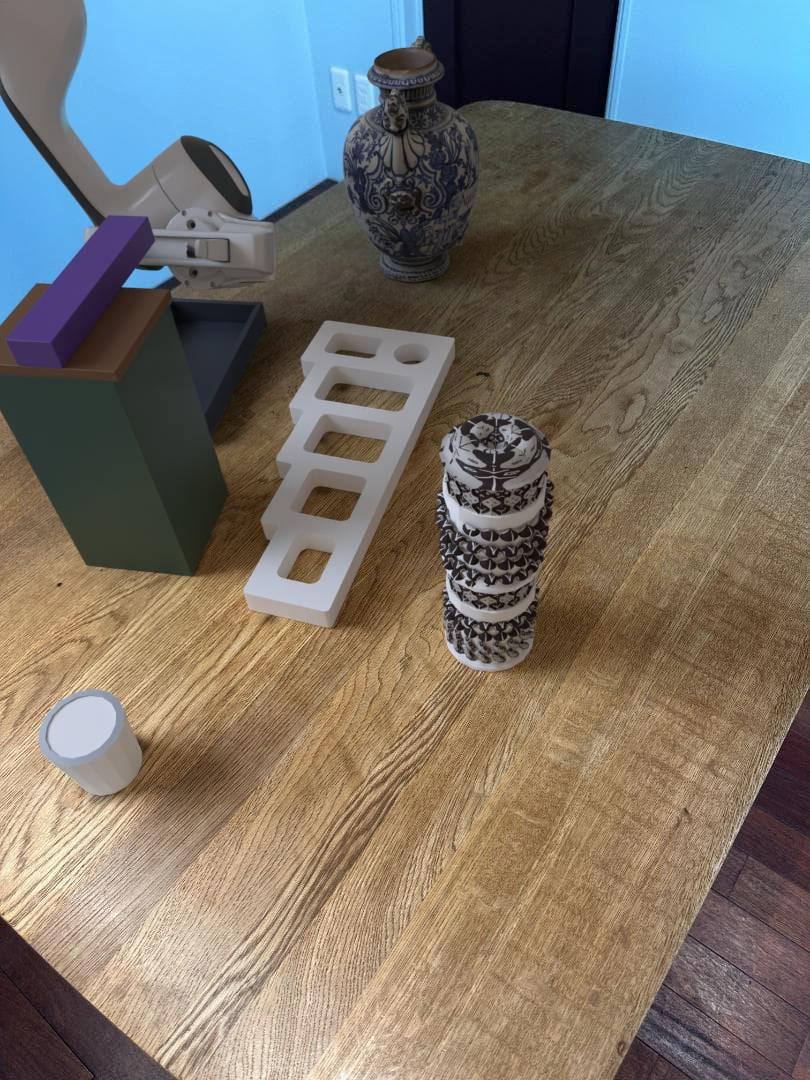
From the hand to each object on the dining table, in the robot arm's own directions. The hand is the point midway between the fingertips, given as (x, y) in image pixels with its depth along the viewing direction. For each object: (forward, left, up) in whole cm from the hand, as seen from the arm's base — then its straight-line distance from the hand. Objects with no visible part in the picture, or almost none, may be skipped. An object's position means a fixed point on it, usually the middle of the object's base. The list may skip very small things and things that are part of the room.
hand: (147, 246), depth 80 cm
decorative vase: (+19, +40, -25) cm, 51 cm away
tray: (-6, +10, -24) cm, 27 cm away
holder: (+16, -3, -24) cm, 29 cm away
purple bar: (0, -12, +2) cm, 12 cm away
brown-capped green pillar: (0, -16, -24) cm, 29 cm away
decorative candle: (+37, -25, -25) cm, 51 cm away
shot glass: (+6, -43, -25) cm, 50 cm away
